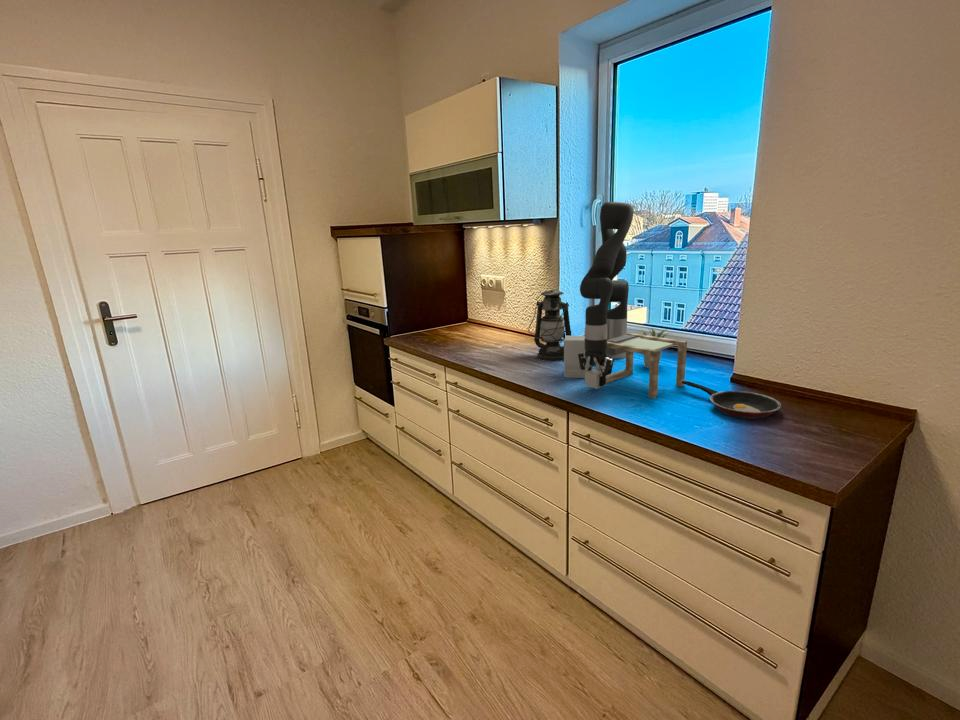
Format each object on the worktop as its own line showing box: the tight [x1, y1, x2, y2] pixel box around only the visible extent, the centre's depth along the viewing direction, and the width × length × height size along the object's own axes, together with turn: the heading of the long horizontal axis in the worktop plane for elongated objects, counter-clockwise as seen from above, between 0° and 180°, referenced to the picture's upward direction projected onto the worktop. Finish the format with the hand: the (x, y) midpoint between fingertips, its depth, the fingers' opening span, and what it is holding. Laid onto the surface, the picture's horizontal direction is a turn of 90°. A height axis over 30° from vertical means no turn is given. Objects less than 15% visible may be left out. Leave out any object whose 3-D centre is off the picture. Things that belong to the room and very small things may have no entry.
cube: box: [584, 368, 607, 390], centre depth 166 cm, size 5×5×5 cm
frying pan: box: [682, 380, 782, 420], centre depth 150 cm, size 19×32×4 cm, turn 27°
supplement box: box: [563, 335, 587, 379], centre depth 186 cm, size 9×9×15 cm
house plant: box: [636, 327, 671, 369], centre depth 191 cm, size 14×14×16 cm
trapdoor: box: [606, 335, 674, 355], centre depth 169 cm, size 19×14×5 cm
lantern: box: [527, 289, 573, 362], centre depth 210 cm, size 19×19×30 cm
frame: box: [600, 332, 688, 399], centre depth 170 cm, size 23×19×16 cm
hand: (595, 383), depth 167 cm, fingers closed on cube, 5 cm apart
